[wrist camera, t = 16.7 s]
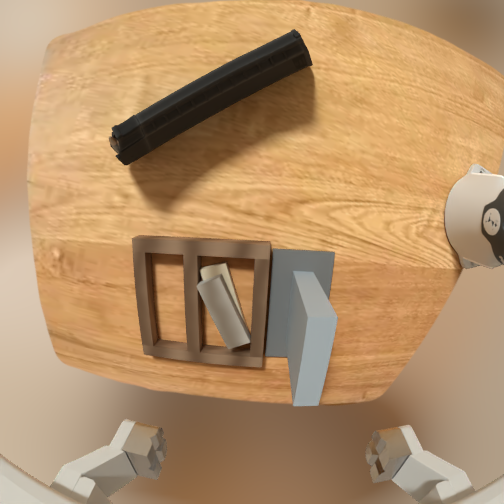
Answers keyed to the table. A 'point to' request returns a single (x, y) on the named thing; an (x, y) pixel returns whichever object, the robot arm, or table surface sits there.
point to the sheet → (308, 338)
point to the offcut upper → (224, 311)
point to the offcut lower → (224, 269)
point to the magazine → (208, 96)
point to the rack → (199, 297)
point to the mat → (281, 290)
